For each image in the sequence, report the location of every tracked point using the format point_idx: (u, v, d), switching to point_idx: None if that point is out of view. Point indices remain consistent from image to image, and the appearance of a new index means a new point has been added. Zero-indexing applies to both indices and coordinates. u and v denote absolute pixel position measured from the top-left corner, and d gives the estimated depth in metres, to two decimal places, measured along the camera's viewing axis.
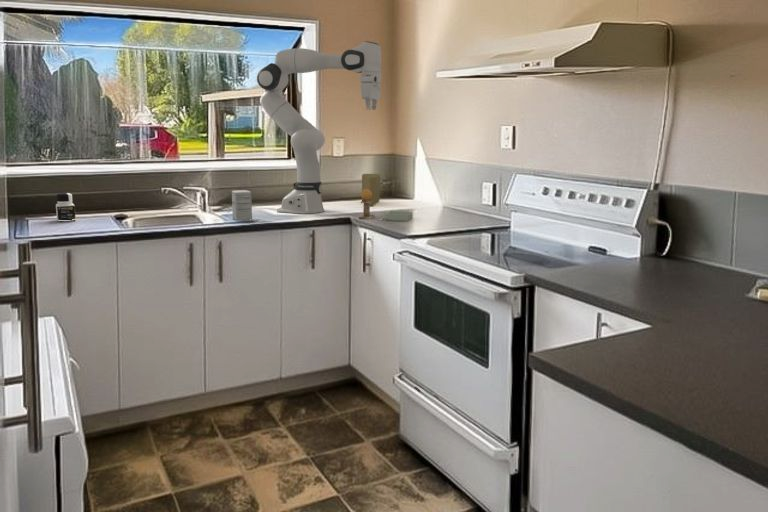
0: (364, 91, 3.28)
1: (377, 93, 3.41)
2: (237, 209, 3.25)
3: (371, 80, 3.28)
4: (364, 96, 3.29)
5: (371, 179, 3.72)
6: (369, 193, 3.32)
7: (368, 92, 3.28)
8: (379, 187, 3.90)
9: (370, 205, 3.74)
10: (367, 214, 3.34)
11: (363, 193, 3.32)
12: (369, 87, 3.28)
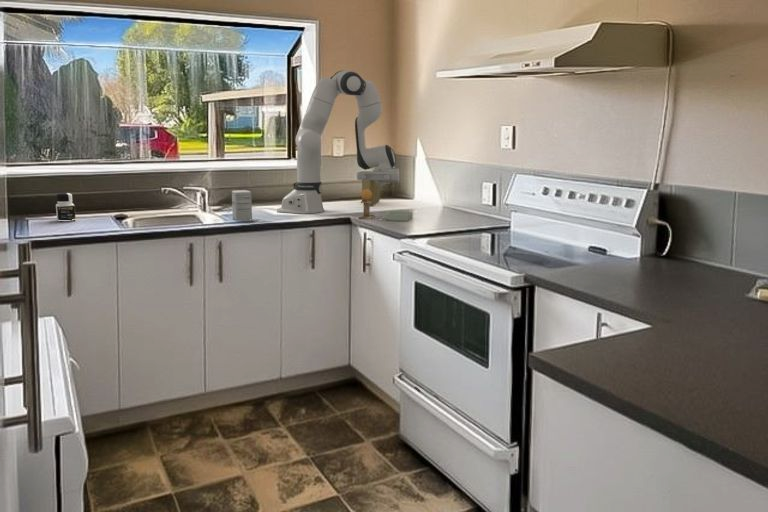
0: (398, 175, 3.50)
1: None
2: (237, 209, 3.25)
3: None
4: (398, 175, 3.48)
5: None
6: (369, 193, 3.32)
7: (398, 179, 3.50)
8: (379, 187, 3.90)
9: (370, 205, 3.74)
10: (367, 214, 3.34)
11: (363, 193, 3.32)
12: None
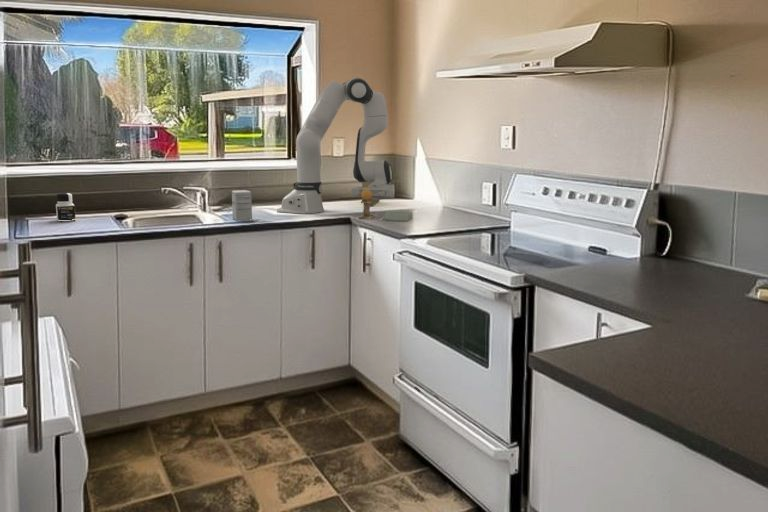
0: None
1: None
2: (237, 209, 3.25)
3: (393, 196, 3.48)
4: (393, 192, 3.41)
5: None
6: (369, 193, 3.32)
7: None
8: None
9: (370, 205, 3.74)
10: (367, 214, 3.34)
11: (363, 193, 3.32)
12: None
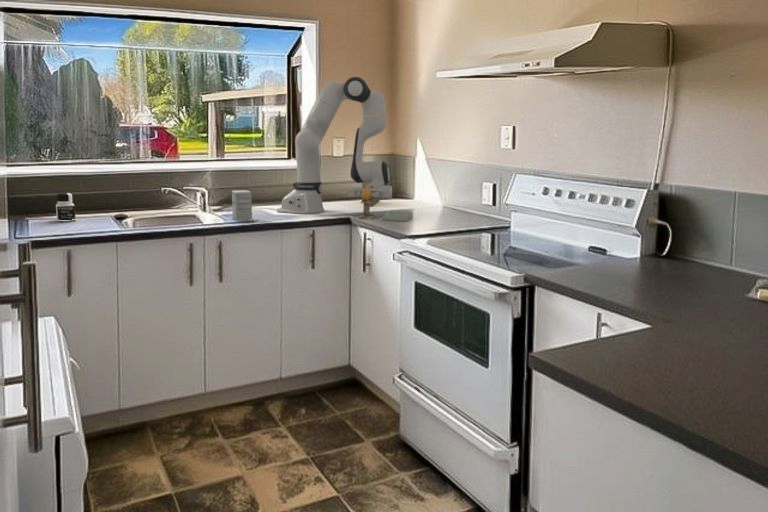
0: (391, 192, 3.38)
1: None
2: (237, 209, 3.25)
3: None
4: (390, 193, 3.36)
5: None
6: (369, 193, 3.32)
7: (391, 196, 3.38)
8: None
9: (370, 205, 3.74)
10: (367, 214, 3.34)
11: (363, 193, 3.32)
12: None
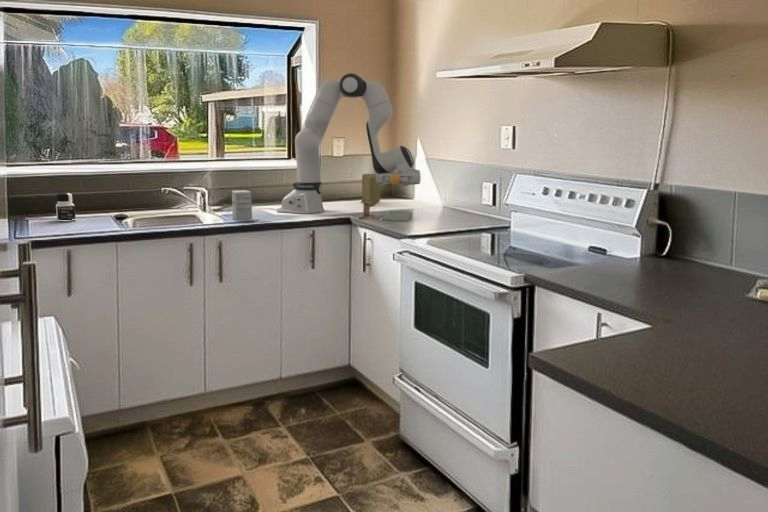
0: (420, 177, 3.33)
1: None
2: (237, 209, 3.25)
3: (419, 182, 3.39)
4: (419, 177, 3.31)
5: (371, 179, 3.72)
6: (398, 178, 3.27)
7: None
8: (379, 187, 3.90)
9: (370, 205, 3.74)
10: (367, 214, 3.34)
11: (392, 178, 3.27)
12: None
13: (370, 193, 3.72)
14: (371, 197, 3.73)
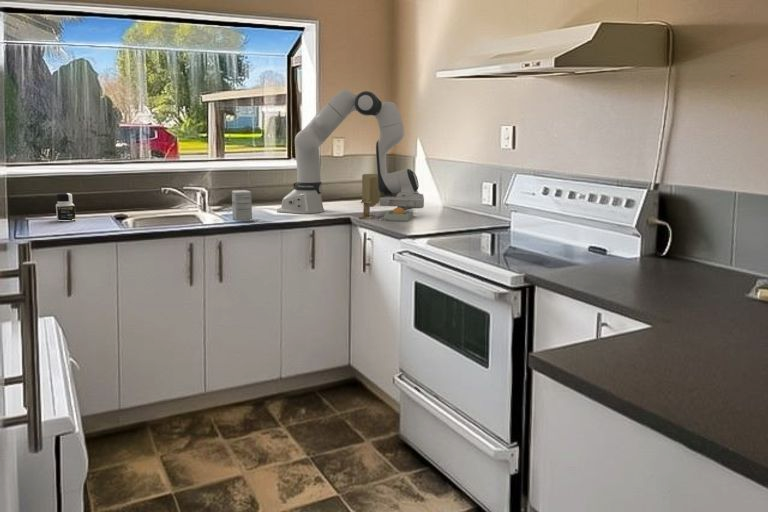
0: (423, 201, 3.35)
1: None
2: (237, 209, 3.25)
3: None
4: (423, 202, 3.33)
5: (371, 179, 3.72)
6: (401, 211, 3.29)
7: (423, 205, 3.35)
8: None
9: (370, 205, 3.73)
10: (367, 214, 3.34)
11: (395, 211, 3.29)
12: None
13: (370, 193, 3.72)
14: (371, 197, 3.73)
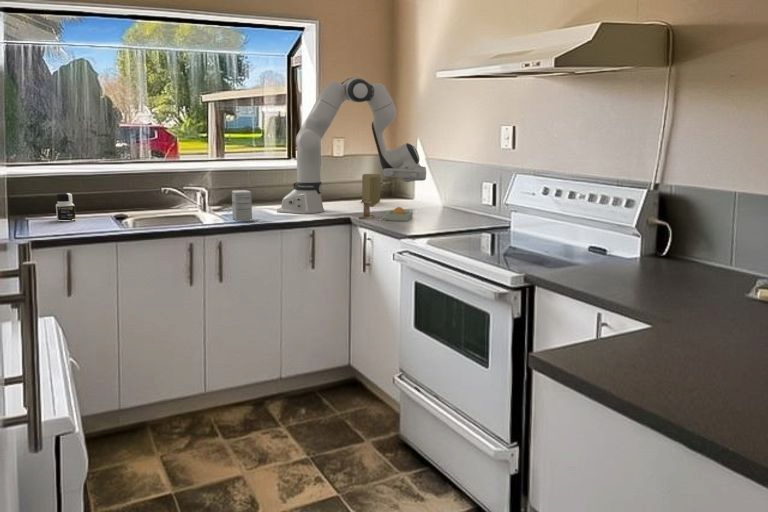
0: None
1: None
2: (237, 209, 3.25)
3: (424, 178, 3.53)
4: (425, 173, 3.45)
5: (371, 179, 3.71)
6: (402, 211, 3.29)
7: (425, 177, 3.47)
8: (379, 187, 3.89)
9: (370, 205, 3.73)
10: (367, 214, 3.34)
11: (396, 211, 3.29)
12: None
13: (370, 193, 3.72)
14: (371, 197, 3.72)
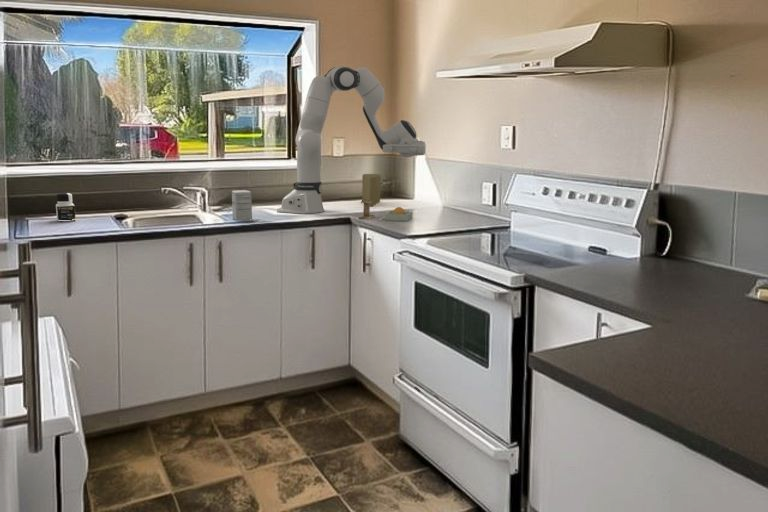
0: (425, 147, 3.48)
1: None
2: (237, 209, 3.25)
3: (424, 153, 3.53)
4: (424, 148, 3.46)
5: (371, 179, 3.71)
6: (402, 211, 3.29)
7: None
8: (379, 187, 3.89)
9: (370, 205, 3.73)
10: (367, 214, 3.34)
11: (396, 211, 3.29)
12: None
13: (370, 193, 3.72)
14: (371, 197, 3.72)
